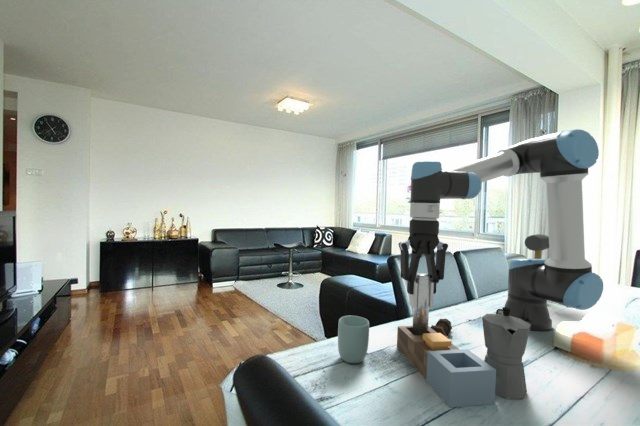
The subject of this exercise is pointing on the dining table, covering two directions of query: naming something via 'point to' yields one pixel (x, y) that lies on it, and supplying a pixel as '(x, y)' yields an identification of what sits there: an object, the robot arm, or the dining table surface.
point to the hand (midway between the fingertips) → (421, 305)
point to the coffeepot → (506, 352)
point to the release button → (436, 341)
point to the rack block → (461, 378)
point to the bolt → (442, 327)
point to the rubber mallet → (537, 244)
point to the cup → (353, 338)
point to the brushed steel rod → (421, 305)
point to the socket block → (415, 347)
